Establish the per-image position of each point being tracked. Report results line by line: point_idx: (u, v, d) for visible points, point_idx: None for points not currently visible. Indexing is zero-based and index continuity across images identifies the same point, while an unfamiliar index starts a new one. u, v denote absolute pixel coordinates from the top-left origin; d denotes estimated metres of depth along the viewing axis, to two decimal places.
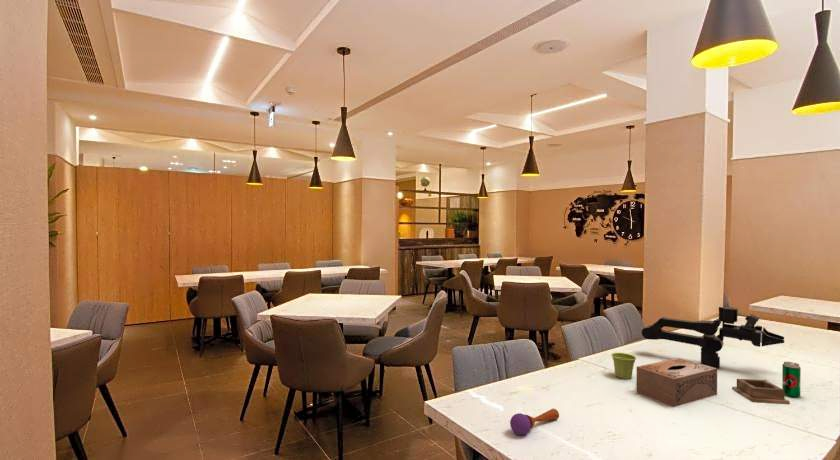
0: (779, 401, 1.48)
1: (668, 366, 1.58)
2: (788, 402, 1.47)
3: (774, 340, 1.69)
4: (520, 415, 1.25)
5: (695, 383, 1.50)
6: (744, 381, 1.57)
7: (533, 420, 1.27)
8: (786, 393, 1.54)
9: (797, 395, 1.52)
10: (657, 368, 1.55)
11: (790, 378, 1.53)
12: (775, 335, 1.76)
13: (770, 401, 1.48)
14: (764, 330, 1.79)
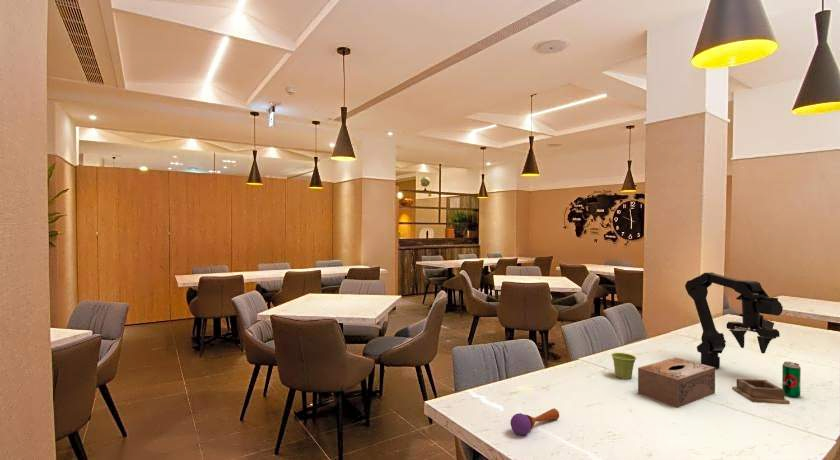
0: (779, 401, 1.48)
1: (668, 366, 1.57)
2: (788, 402, 1.47)
3: (765, 346, 1.64)
4: (520, 415, 1.25)
5: (696, 382, 1.50)
6: (744, 381, 1.57)
7: (533, 420, 1.27)
8: (786, 393, 1.54)
9: (797, 395, 1.52)
10: (658, 369, 1.55)
11: (790, 378, 1.53)
12: (743, 341, 1.74)
13: (770, 401, 1.48)
14: (744, 331, 1.75)
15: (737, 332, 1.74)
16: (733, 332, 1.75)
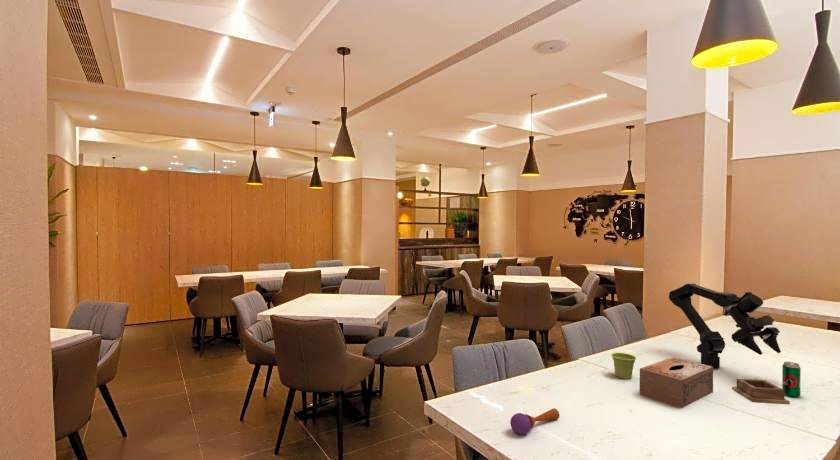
0: (779, 401, 1.48)
1: (668, 366, 1.57)
2: (788, 402, 1.47)
3: (753, 347, 1.63)
4: (520, 415, 1.25)
5: (697, 382, 1.50)
6: (744, 381, 1.57)
7: (533, 420, 1.27)
8: (786, 393, 1.54)
9: (797, 395, 1.52)
10: (659, 369, 1.54)
11: (790, 378, 1.53)
12: (775, 345, 1.65)
13: (770, 401, 1.48)
14: (772, 335, 1.67)
15: (766, 340, 1.69)
16: None
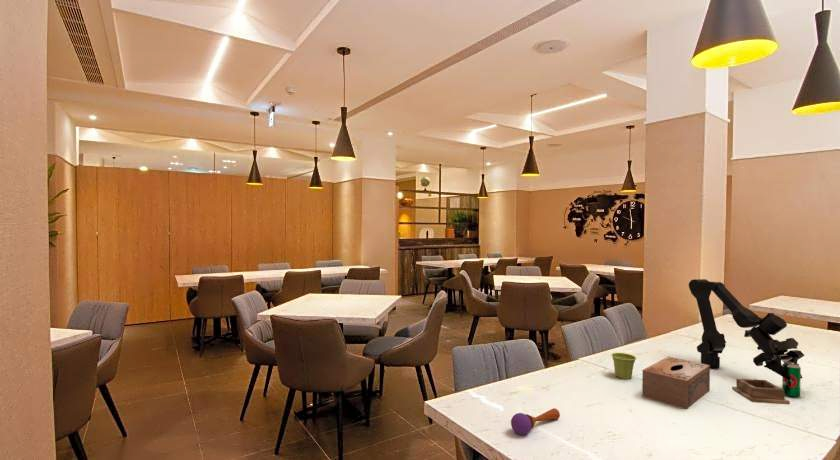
0: (779, 401, 1.48)
1: (668, 367, 1.57)
2: (788, 402, 1.47)
3: (781, 372, 1.55)
4: (521, 415, 1.25)
5: (698, 382, 1.51)
6: (744, 381, 1.57)
7: (534, 420, 1.27)
8: (786, 393, 1.54)
9: (797, 395, 1.52)
10: (661, 370, 1.53)
11: None
12: None
13: (770, 401, 1.48)
14: (792, 359, 1.57)
15: None
16: None
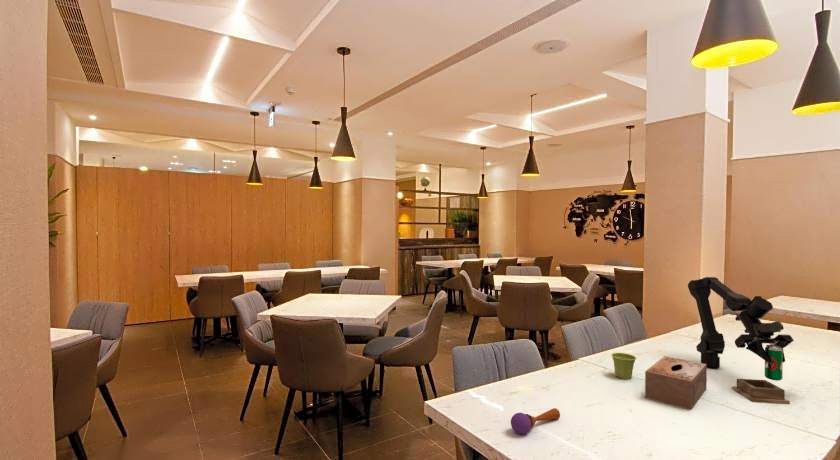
0: (779, 401, 1.48)
1: (669, 367, 1.57)
2: (788, 402, 1.47)
3: (761, 354, 1.55)
4: (521, 414, 1.25)
5: (698, 381, 1.51)
6: (744, 381, 1.57)
7: (534, 419, 1.27)
8: (767, 376, 1.54)
9: (777, 378, 1.51)
10: (663, 370, 1.53)
11: (770, 361, 1.53)
12: None
13: (770, 401, 1.48)
14: (777, 343, 1.56)
15: None
16: None
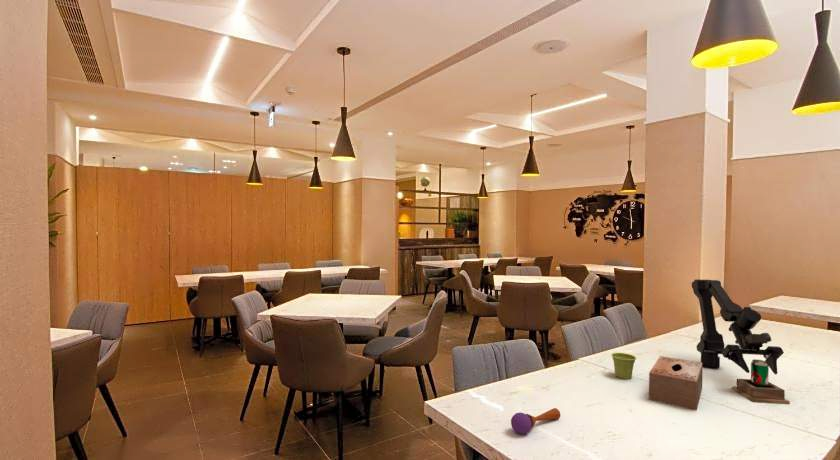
0: (779, 401, 1.48)
1: (669, 367, 1.56)
2: (788, 402, 1.47)
3: (741, 364, 1.55)
4: (521, 414, 1.25)
5: (699, 381, 1.52)
6: (744, 381, 1.57)
7: (534, 419, 1.27)
8: None
9: None
10: (666, 371, 1.52)
11: (755, 375, 1.53)
12: (773, 366, 1.53)
13: (770, 401, 1.48)
14: (771, 355, 1.55)
15: (767, 359, 1.57)
16: None
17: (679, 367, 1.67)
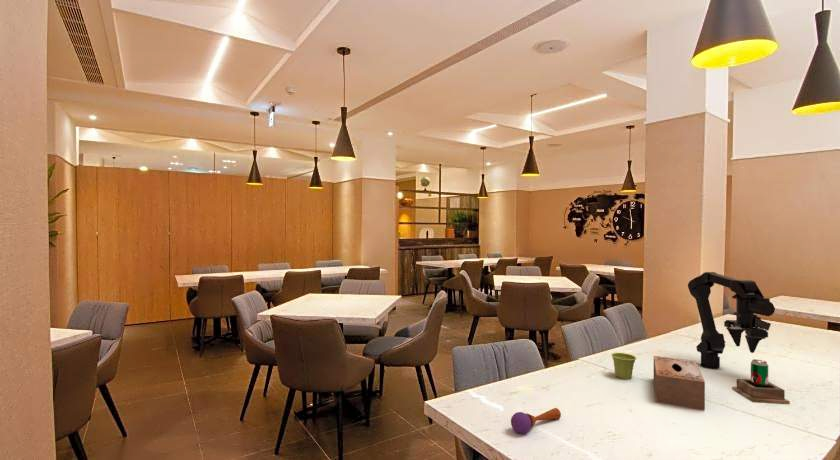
0: (779, 401, 1.48)
1: (670, 367, 1.56)
2: (788, 402, 1.47)
3: (753, 345, 1.64)
4: (521, 414, 1.26)
5: None
6: (744, 381, 1.57)
7: (534, 419, 1.27)
8: None
9: None
10: (670, 372, 1.51)
11: (755, 375, 1.53)
12: (739, 339, 1.74)
13: (770, 401, 1.48)
14: (742, 330, 1.74)
15: (733, 330, 1.75)
16: (729, 330, 1.75)
17: (672, 366, 1.68)
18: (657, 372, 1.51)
